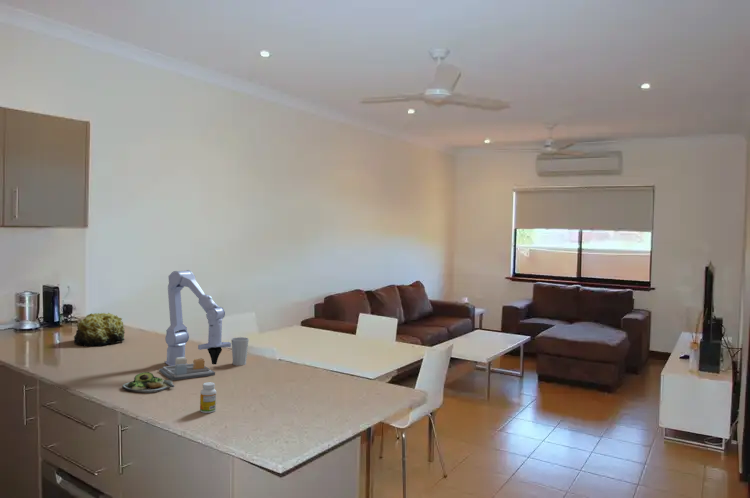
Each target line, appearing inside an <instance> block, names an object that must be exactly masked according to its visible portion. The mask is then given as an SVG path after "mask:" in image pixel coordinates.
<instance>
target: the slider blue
mask: <svg viewBox="0 0 750 498" xmlns="http://www.w3.org/2000/svg"><path fill="white" fill-rule="evenodd" d="M186 373H187V366H186V364H176V366H175V375H182V374H186Z"/></svg>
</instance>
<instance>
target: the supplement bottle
mask: <svg viewBox="0 0 750 498" xmlns="http://www.w3.org/2000/svg"><path fill="white" fill-rule="evenodd" d="M215 386H216V384H215V382H210V381H209V382H204V383H203V384H202V389H201V390H200V397H199V398H200V402H199V404H200V405H199V411H200V412H201V413H202V414H210V413H214V412H216V410H217V390H216V389H215Z"/></svg>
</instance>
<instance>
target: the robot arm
mask: <svg viewBox="0 0 750 498" xmlns="http://www.w3.org/2000/svg"><path fill="white" fill-rule="evenodd" d="M185 287H187V288H189V290H190V291H191V292H192V293H193V294H194V296H195V297H196V298H197V299H198V304H199V305H200V307H201V308H202V309H203V311H204V312H205V313H206V314H205V317H206V319H207V324H208V334H207V335H208V336H207V337H208V339H207V343H203V344H201V343H200V344H198V345H197V349H198V350H199V351H202V350H207V351H208V352H207V353H208V354H209V356H210V359H211V364H212V365H217V362H218V360H219V357H220V354H221V353H222V351H223V349H222V348H232V342H230V341H226V342H224V341H223V342H222V333H223V329H222V328H223V319H224V318H225V316H226V311H225V309H224V307H222V306H219V305H218V304H217V303H216V302H215V301H214V300H213V297H212V296H211V295H210V294H205V292H204V290H203V289H202V288H201V286H200V284H199V283H198V282H197V279H196V275H195V274H194V273H193V271H191V270H189V269H186V270H174V271H172V272H171V273H170V274H169V275H168V285H167V294H168V295H167V296H168V308H169V311H168V312H169V322H170V325H169V327H167V329H165V330H166V333H165V334H166V335H165V337H164V338H165V343H166V344H167V348H166V360H164V363H165V364H166V365H167V366H175V360H176V358H178V357H185V358H186V345H187V343H188V341H189V340H190V334H189V332H188V328H187V326H186V325H185V324H184V321H183V320H184V319H183V309H182V308H183V307H182V294H181V293H182V292H181V291H182V290H183V288H185Z"/></svg>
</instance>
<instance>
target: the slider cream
mask: <svg viewBox="0 0 750 498" xmlns="http://www.w3.org/2000/svg"><path fill="white" fill-rule="evenodd" d="M187 361H188V359H187V357H186V356H185V357H178V358H176V360H175V366H176V364H186V365H187V364H188V363H187Z"/></svg>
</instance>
